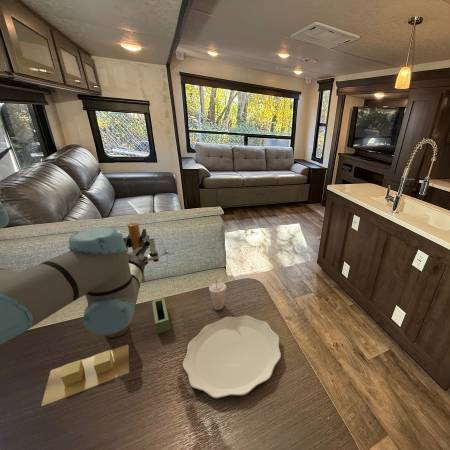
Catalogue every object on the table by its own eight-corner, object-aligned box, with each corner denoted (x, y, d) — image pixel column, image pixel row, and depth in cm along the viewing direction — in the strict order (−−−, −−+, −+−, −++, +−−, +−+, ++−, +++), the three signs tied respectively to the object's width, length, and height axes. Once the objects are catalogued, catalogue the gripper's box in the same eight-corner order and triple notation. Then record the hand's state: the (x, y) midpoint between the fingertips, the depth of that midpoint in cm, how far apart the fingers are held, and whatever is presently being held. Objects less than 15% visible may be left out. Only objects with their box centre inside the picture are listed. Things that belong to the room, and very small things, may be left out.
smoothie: (206, 308, 97) (204, 278, 92) (218, 299, 103) (217, 270, 97) (218, 314, 95) (217, 284, 89) (230, 305, 100) (229, 276, 95)
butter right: (97, 363, 71) (94, 354, 70) (112, 358, 73) (110, 349, 72) (96, 374, 68) (93, 366, 67) (112, 368, 70) (109, 360, 69)
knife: (137, 269, 79) (127, 220, 73) (146, 267, 81) (137, 218, 74) (138, 283, 73) (127, 230, 67) (148, 281, 75) (139, 229, 68)
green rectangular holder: (154, 313, 92) (151, 300, 90) (166, 310, 95) (164, 297, 92) (157, 337, 83) (155, 323, 81) (170, 332, 85) (168, 319, 83)
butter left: (67, 374, 68) (63, 365, 67) (84, 368, 70) (80, 359, 68) (64, 386, 65) (60, 377, 63) (82, 379, 67) (79, 371, 65)
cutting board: (52, 373, 69) (50, 370, 68) (129, 347, 79) (128, 344, 78) (42, 410, 61) (40, 406, 60) (130, 376, 70) (129, 372, 70)
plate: (205, 427, 60) (205, 421, 60) (172, 345, 81) (172, 340, 80) (297, 364, 78) (298, 358, 77) (252, 309, 99) (252, 305, 98)
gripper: (85, 294, 56) (111, 246, 75) (163, 282, 62) (168, 241, 82) (77, 266, 53) (105, 224, 73) (159, 257, 59) (165, 220, 79)
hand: (138, 233), depth 77 cm, fingers closed on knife, 3 cm apart
